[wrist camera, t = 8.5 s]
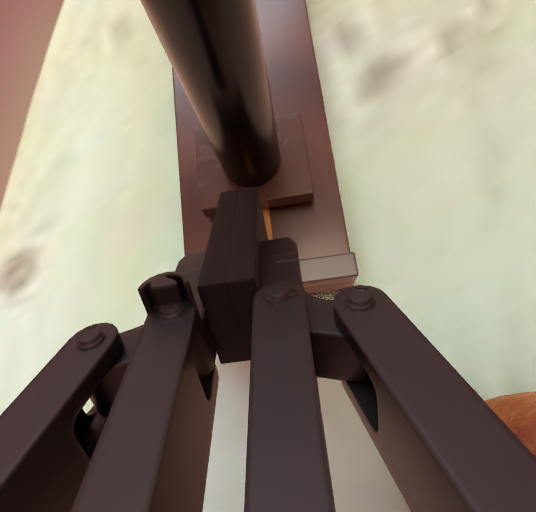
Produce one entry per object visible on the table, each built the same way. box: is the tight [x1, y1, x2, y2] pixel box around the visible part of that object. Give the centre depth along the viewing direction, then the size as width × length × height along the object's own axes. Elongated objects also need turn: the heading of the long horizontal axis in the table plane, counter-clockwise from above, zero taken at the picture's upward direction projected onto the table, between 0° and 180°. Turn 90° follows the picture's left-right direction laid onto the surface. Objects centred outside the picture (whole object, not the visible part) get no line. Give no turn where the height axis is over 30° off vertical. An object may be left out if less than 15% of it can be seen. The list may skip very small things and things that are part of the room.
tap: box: [141, 0, 314, 217], centre depth 16 cm, size 10×8×16 cm
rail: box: [172, 0, 358, 294], centre depth 25 cm, size 24×9×4 cm, turn 7°
